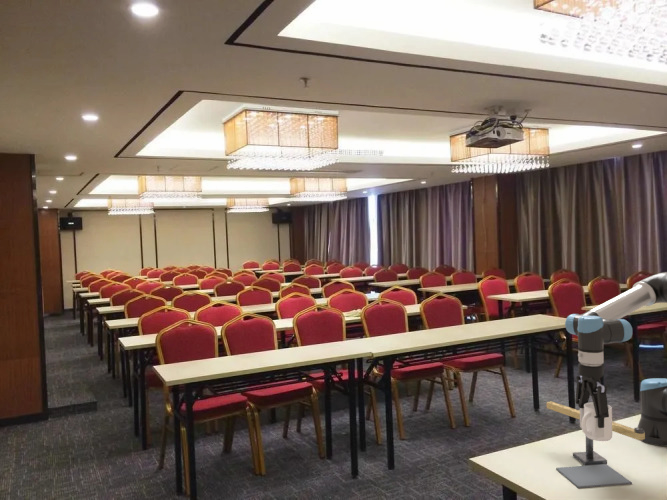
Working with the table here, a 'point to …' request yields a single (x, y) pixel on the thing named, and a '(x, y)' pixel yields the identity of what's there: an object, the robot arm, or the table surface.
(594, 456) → the lever post
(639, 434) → the lever
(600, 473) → the felt mat
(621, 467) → the table surface
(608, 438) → the mug
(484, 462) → the table surface
